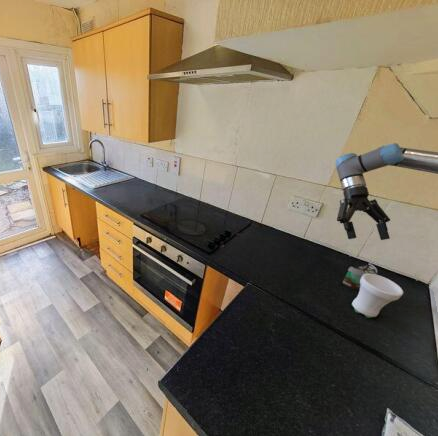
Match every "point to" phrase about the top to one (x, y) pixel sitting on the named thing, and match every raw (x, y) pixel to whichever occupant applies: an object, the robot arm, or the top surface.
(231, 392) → the top surface
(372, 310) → the cup
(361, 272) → the food container
